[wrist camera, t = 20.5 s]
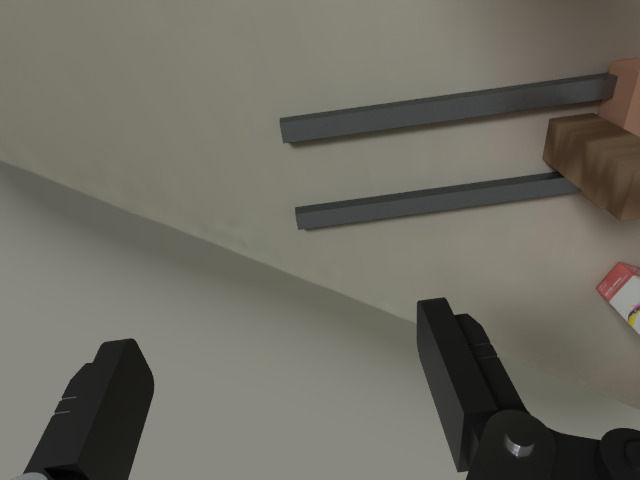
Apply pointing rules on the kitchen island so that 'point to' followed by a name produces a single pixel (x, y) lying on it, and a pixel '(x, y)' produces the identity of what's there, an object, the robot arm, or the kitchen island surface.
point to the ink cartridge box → (623, 292)
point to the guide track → (438, 112)
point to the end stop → (623, 100)
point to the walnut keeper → (597, 161)
